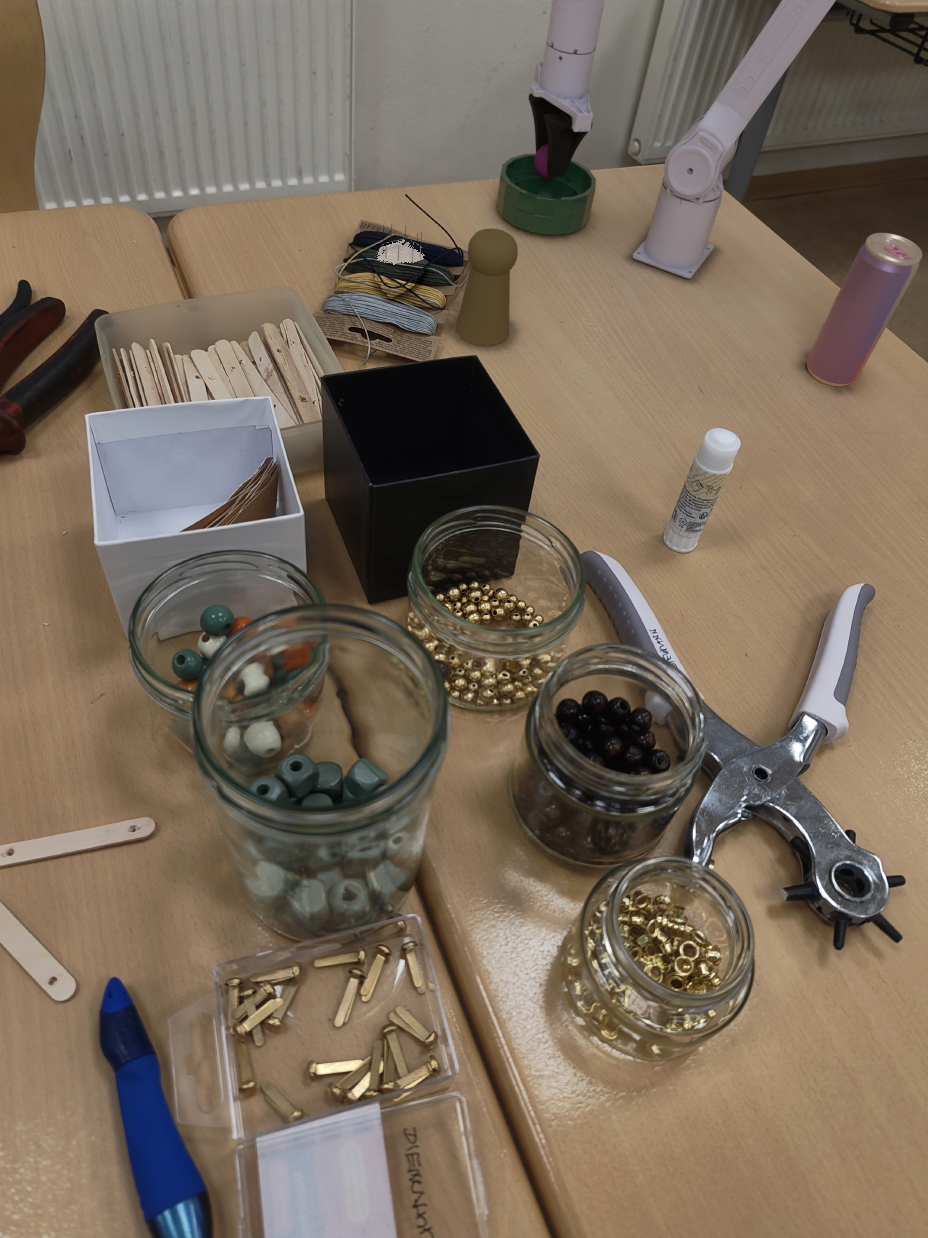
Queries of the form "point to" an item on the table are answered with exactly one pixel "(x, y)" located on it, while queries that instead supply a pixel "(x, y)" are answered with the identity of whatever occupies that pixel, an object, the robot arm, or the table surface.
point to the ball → (542, 163)
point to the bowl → (545, 197)
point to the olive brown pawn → (487, 288)
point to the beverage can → (863, 308)
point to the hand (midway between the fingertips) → (550, 166)
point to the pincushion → (399, 251)
